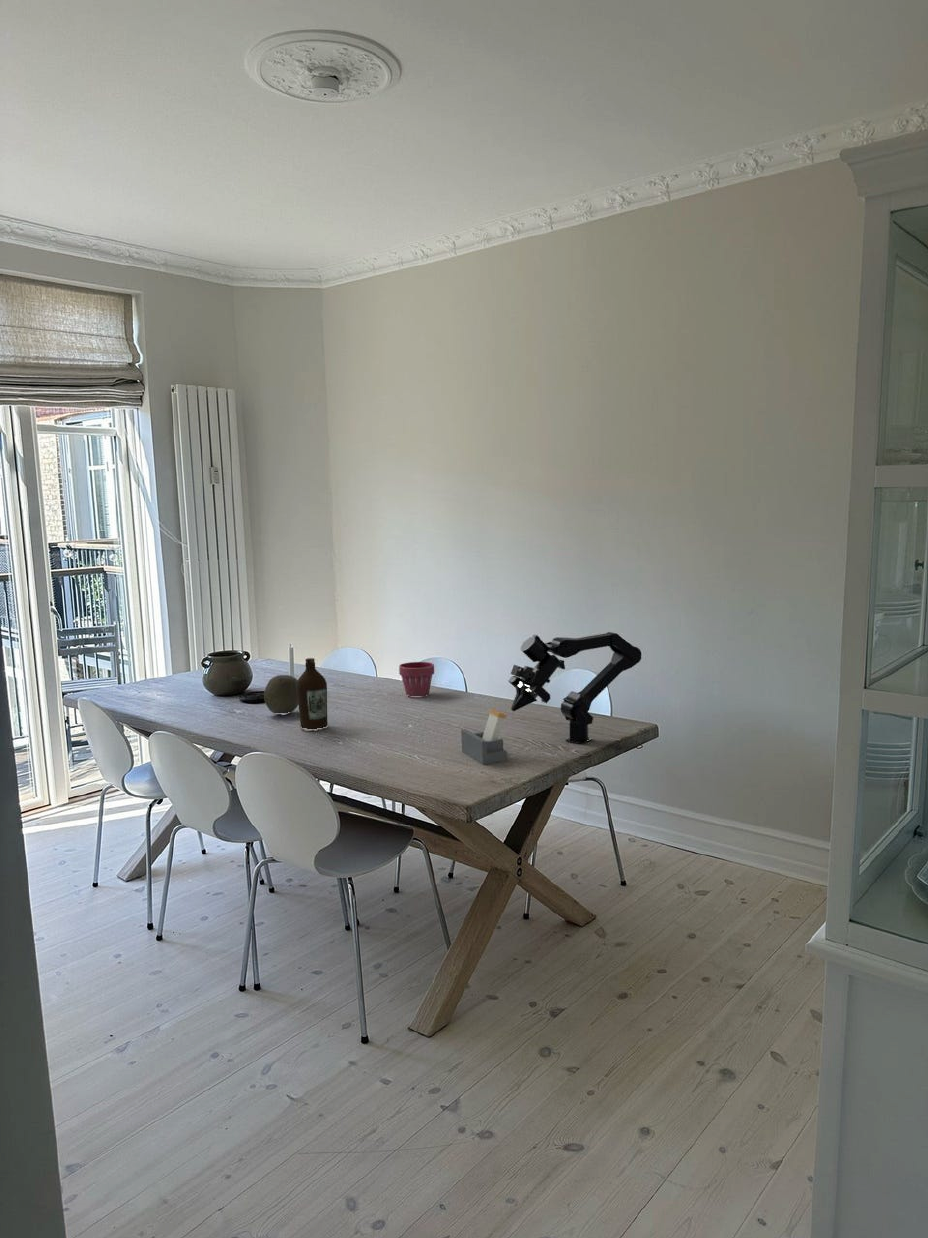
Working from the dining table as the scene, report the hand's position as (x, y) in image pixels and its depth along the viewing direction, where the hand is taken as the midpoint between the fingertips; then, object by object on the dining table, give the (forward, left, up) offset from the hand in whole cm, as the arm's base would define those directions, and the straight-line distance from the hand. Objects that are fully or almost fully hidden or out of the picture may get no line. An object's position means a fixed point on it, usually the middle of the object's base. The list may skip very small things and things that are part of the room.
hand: (512, 710), depth 269 cm
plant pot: (-46, -78, -13) cm, 92 cm away
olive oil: (+12, -77, -13) cm, 79 cm away
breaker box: (+9, -5, -13) cm, 16 cm away
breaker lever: (+7, -4, -10) cm, 13 cm away
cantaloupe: (+3, -103, -13) cm, 104 cm away
